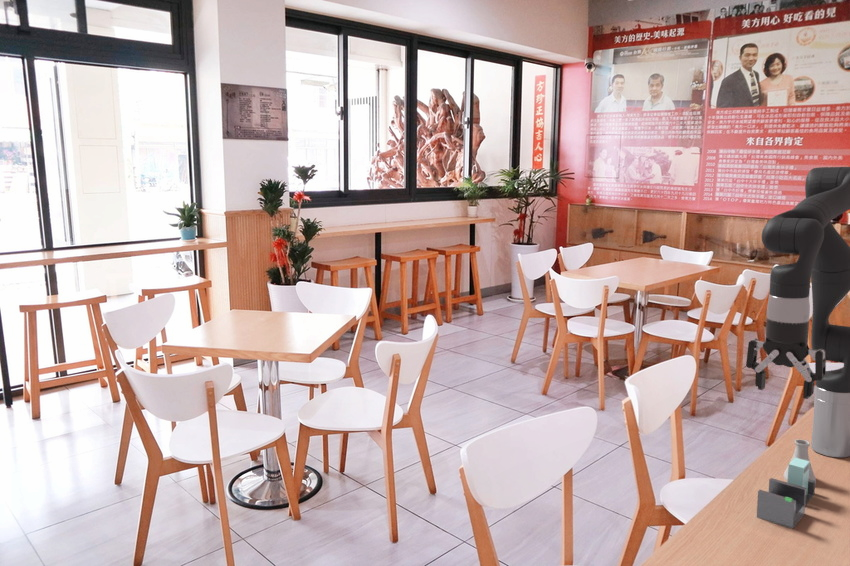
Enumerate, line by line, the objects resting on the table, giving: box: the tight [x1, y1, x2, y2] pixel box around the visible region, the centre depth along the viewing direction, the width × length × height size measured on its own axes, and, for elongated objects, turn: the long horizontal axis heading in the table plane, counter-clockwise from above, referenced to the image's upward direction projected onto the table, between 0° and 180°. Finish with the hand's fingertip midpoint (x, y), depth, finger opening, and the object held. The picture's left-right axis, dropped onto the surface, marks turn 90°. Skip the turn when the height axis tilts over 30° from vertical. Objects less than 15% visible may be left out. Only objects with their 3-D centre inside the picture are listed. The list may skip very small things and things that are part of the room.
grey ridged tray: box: [805, 479, 816, 506], centre depth 147 cm, size 8×5×4 cm, turn 135°
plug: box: [787, 458, 811, 495], centre depth 147 cm, size 4×3×8 cm
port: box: [756, 477, 806, 530], centre depth 139 cm, size 8×7×7 cm
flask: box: [783, 438, 817, 486], centre depth 154 cm, size 7×7×10 cm
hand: (783, 393), depth 135 cm, fingers open, 8 cm apart
